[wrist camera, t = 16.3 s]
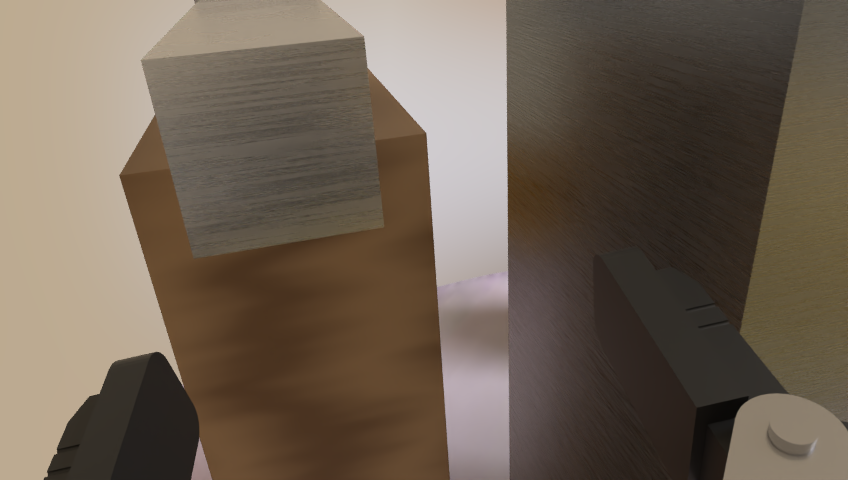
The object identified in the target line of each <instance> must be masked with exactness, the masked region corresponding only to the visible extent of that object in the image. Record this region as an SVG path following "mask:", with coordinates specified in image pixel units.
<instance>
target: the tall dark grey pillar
mask: <svg viewBox="0 0 848 480" xmlns="http://www.w3.org/2000/svg"><path fill="white" fill-rule="evenodd" d="M506 12H507V13H506V17H507V18H506V19H507V20H506V21H507V153H508V154H507V157H508V158H507V159H508V298H509V436H510V480H672V479H671V477H670V475H669V473H668V472H667V470H666V468H665V466H664V464H663V462H662V460H661V458H660V456H659V455H658V453H657V451H656V449H655V447H654V445H653V443H652V441H651V439H650V437H649V436H648V434H647V432H646V430H645V428H644V426H643V424H642V422H641V420H640V419H639V417H638V415H637V413H636V411H635V409H634V407H633V405H632V403H631V401H630V400H629V398H628V396H627V394H626V392H625V390H624V388H623V386H622V384H621V383H620V381H619V379H618V377H617V375H616V373H615V371H614V369H613V367H612V365H611V364H610V362H609V360H608V358H607V356H606V354H605V352H604V350H603V348H602V346H601V344H600V341H599V338H598V335H597V331H596V326H595V320H594V290H593V259H594V256H595V255H597V254H602V253H606V252H610V251H615V250H619V249H624V248H628V247H633V246H637V247H638V248H640V249H641V251H642V252H643V253H644V255H645V256H646V257H647V259H648V260H649V261H650V263H651V264H652V265H653V267H654V268H655V270H660V269H665V268H669V267H673V268H675V269H677V270H678V271H680V272H682V273H683V274H685V275H687V276H689V277H690V278H692V279H694V280H695V281H697V282H698V283H699V284H700V285H701V286H702V288H703V289H704V290H705V291H706V293H707V294H708V295H709V296H710V298H711V299H712V300H713V301H714V302H715V306H716V307H719V309H720V310H721V311H722V312H723V314H724V315H725V316H726V317H727V319H728V320H729V324H730V325H731V324H732V325H733V326H734V327H735V328H736V330H737V331H738V332H739V333H740V335H741V336H742V337H743V338H744V339H745V341H746V342H747V343H748V344H749V346H750V347H751V348H752V349H753V351H754V352H755V353H756V354H757V356H758V357H759V358H760V359H761V360H762V362H763V363H764V364H765V365H766V367H767V368H768V369H769V370H770V372H771V373H772V374H773V375H774V377H775V378H776V379H777V380H778V381H779V383H780V384H781V385H782V386H783V388H784V389H785V390H786V391H787V392H788V393H789V394H790V395H794V396H798V397H801V398H805V399H807V400H810V401H812V402H814V403H817V404H818V405H820V406H822V407H824V408H825V409H827V410H828V411H829V412H831V413H832V414H833V415H834V416H836V417H837V418H838V419H839V420H840V421H844V422H848V0H506Z"/></svg>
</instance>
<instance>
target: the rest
mask: <svg viewBox="0 0 848 480" xmlns="http://www.w3.org/2000/svg"><path fill="white" fill-rule="evenodd" d="M367 69H368V68H367ZM368 79H369V88H370V97H371V107H372V116H373V126H374V135H375V144H376V154H377V163H378V173H379V182H380V191H381V201H382V210H383V220H384V227H383V228H377V229H371V230H365V231H359V232H353V233H347V234H341V235H335V236H329V237H323V238H317V239H311V240H305V241H299V242H293V243H287V244H281V245H275V246H269V247H263V248H257V249H251V250H245V251H239V252H232V253H226V254H220V255H214V256H208V257H202V258H196V259H194V258H193V254H192V251H191V247H190V243H189V239H188V236H187V232H186V228H185V224H184V220H183V217H182V213H181V209H180V205H179V202H178V198H177V194H176V190H175V187H174V183H173V179H172V175H171V172H170V168H169V164H168V160H167V157H166V153H165V149H164V145H163V141H162V138H161V134H160V130H159V126H158V123H157V119H156V115H155V116H154V118H153V119H152V121H151V123H150V124H149V126H148V128H147V129H146V131H145V133H144V135H143V136H142V138H141V140H140V141H139V143H138V145H137V146H136V148H135V150H134V152H133V153H132V155H131V157H130V158H129V160H128V162H127V163H126V165H125V167H124V169H123V170H122V172H121V174H120V175H119V176H120V179H121V182H122V185H123V189H124V192H125V195H126V199H127V202H128V205H129V209H130V212H131V215H132V218H133V222H134V225H135V228H136V231H137V235H138V238H139V241H140V244H141V248H142V250H143V254H144V257H145V261H146V264H147V267H148V271H149V274H150V277H151V280H152V284H153V286H154V290H155V294H156V296H157V300H158V303H159V307H160V310H161V313H162V316H163V320H164V323H165V326H166V329H167V333H168V336H169V339H170V342H171V345H172V349H173V352H174V355H175V359H176V362H177V365H178V369H179V371H180V375H181V378H182V382H183V385H184V388H185V391H186V392H187V394H188V396H189V398H190V399H191V401H192V403H193V404H194V406H195V409H196V412H197V415H198V420H199V437H200V441H201V444H202V447H203V450H204V454H205V457H206V460H207V463H208V467H209V470H210V473H211V477H212V480H450V477H449V462H448V447H447V433H446V418H445V403H444V388H443V373H442V359H441V344H440V329H439V314H438V299H437V285H436V270H435V256H434V240H433V226H432V211H431V196H430V183H429V166H428V152H427V137H426V132H425V131H424V130H423V129H422V128H421V127H420V126H419V125H418V124H417V122H416V121H414V119H413V118H412V117H411V116H410V115H409V114H408V113H407V112H406V110H405V109H404V108H403V107H402V106H401V105H400V104H399V102H398V101H397V100H396V99H395V98H394V97H393V96H392V95H391V94H390V92H389V91H388V90H387V89H386V88H385V87H384V86H383V85H382V84H381V82H380V81H379V80H378V79H377V78H376V77H375V76H374V75H373V74H372V72H371V71H370V70H369V69H368Z"/></svg>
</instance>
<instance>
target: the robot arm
mask: <svg viewBox="0 0 848 480" xmlns="http://www.w3.org/2000/svg"><path fill="white" fill-rule="evenodd" d="M593 290H594V320H595V326H596V331H597V335H598V338H599V341H600V344H601V346H602V348H603V350H604V352H605V354H606V356H607V358H608V360H609V362H610V364H611V365H612V367H613V369H614V371H615V373H616V375H617V377H618V379H619V381H620V383H621V384H622V386H623V388H624V390H625V392H626V394H627V396H628V398H629V400H630V401H631V403H632V405H633V407H634V409H635V411H636V413H637V415H638V417H639V419H640V420H641V422H642V424H643V426H644V428H645V430H646V432H647V434H648V436H649V437H650V439H651V441H652V443H653V445H654V447H655V449H656V451H657V453H658V455H659V456H660V458H661V460H662V462H663V464H664V466H665V468H666V470H667V472H668V473H669V475H670V477H671V479H672V480H848V422H844V421H840V420H839V419H838V418H837V417H836V416H834V415H833V414H832V413H831V412H829V411H828V410H827V409H825V408H824V407H822V406H820V405H818V404H817V403H814V402H812V401H810V400H807V399H805V398H801V397H798V396H794V395H790V394H789V393H788V392H787V391H786V390H785V389H784V388H783V386H782V385H781V384H780V383H779V381H778V380H777V379H776V378H775V377H774V375H773V374H772V373H771V372H770V370H769V369H768V368H767V367H766V365H765V364H764V363H763V362H762V360H761V359H760V358H759V357H758V356H757V354H756V353H755V352H754V351H753V349H752V348H751V347H750V346H749V344H748V343H747V342H746V341H745V339H744V338H743V337H742V336H741V335H740V333H739V332H738V331H737V330H736V328H735V327H734V326H733V325H732V324H731V325H730V324H729V320H728V319H727V317H726V316H725V315H724V314H723V312H722V311H721V310H720V309H719V307H716V306H715V302H714V301H713V300H712V299H711V298H710V296H709V295H708V294H707V293H706V291H705V290H704V289H703V288H702V286H701V285H700V284H699V283H698V282H697V281H695V280H694V279H692V278H690V277H689V276H687V275H685V274H683V273H682V272H680V271H678V270H677V269H675V268H673V267H669V268H665V269H660V270H655V268H654V267H653V265H652V264H651V263H650V261H649V260H648V259H647V257H646V256H645V255H644V253H643V252H642V251H641V249H640V248H638V247H637V246H633V247H628V248H624V249H619V250H615V251H610V252H606V253H602V254H597V255H595V256H594V259H593ZM198 442H199V420H198V415H197V412H196V409H195V406H194V404H193V403H192V401H191V399H190V398H189V396H188V394H187V392H186V391H185V389H184V387H183V386H182V384H181V382H180V381H179V379H178V377H177V376H176V374H175V372H174V371H173V369H172V367H171V366H170V364H169V362H168V361H167V359H166V358H165V356H164V355H163V354H161V353H159V352H154V353H149V354H145V355H141V356H136V357H132V358H127V359H123V360H118V361H115V362H114V363H113V364H112V365H111V367H110V369H109V371H108V374H107V376H106V379H105V381H104V384H103V387H102V389H101V392H100V394H97V395H93V396H90V397H89V398H88V399H87V400H86V401H85V402H84V404H83V405H82V406H81V407H80V408H79V410H78V411H77V412H76V414H75V415H74V416H73V417H72V418H71V419H70V421H69V422H68V424H67V426H66V429H65V431H64V433H63V436H62V438H61V440H60V442H59V445H58V447H57V454H56V455H54V457H53V459H52V461H51V464H50V466H49V468H48V471H47V473H48V477H45V478H44V480H191V476H192V471H193V466H194V461H195V456H196V451H197V447H198Z"/></svg>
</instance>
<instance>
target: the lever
mask: <svg viewBox="0 0 848 480" xmlns="http://www.w3.org/2000/svg"><path fill="white" fill-rule="evenodd" d="M194 1H195V5H194V6H193V7H192V8H191V9H190V10H189V11H188V12H187V13H186V14H185V15H184V16H183V17H182V18H181V19H180V20H179V21H178V22H177V23H176V24H175V25H174V27H173V28H172V29H171V30H170V31H169V32H168V33H167V34H166V35H165V36H164V37H163V38H162V39H161V40H160V41H159V42H158V43H157V44H156V45H155V46H154V47H153V48H152V49H151V50H150V51H149V52H148V54H146V56H145V57H144V58H142V60H141V62H142V66H143V70H144V73H145V77H146V81H147V85H148V89H149V93H150V96H151V100H152V103H153V108H154V111H155V115H156V119H157V123H158V126H159V130H160V134H161V138H162V141H163V145H164V149H165V153H166V157H167V160H168V164H169V168H170V172H171V175H172V179H173V183H174V187H175V190H176V194H177V198H178V202H179V205H180V209H181V213H182V217H183V220H184V224H185V228H186V232H187V236H188V239H189V243H190V247H191V251H192V254H193V258H194V259H196V258H202V257H208V256H214V255H220V254H226V253H232V252H239V251H245V250H251V249H257V248H263V247H269V246H275V245H281V244H287V243H293V242H299V241H305V240H311V239H317V238H323V237H329V236H335V235H341V234H347V233H353V232H359V231H365V230H371V229H377V228H383V227H384V220H383V210H382V201H381V191H380V182H379V173H378V163H377V154H376V144H375V135H374V126H373V116H372V107H371V97H370V88H369V79H368V69H367V60H366V50H365V42H364V36H363V35H362V34H361V33H359V32H358V31H357V30H356V29H354V28H353V27H352V26H351V25H350V24H349V23H347V22H346V21H345V20H344V19H342V18H341V17H340V16H339V15H338V14H337V13H335V12H334V11H333V10H332V9H331V8H329V7H328V6H327V5H326V4H325V3H323V2H322V1H321V0H194Z"/></svg>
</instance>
